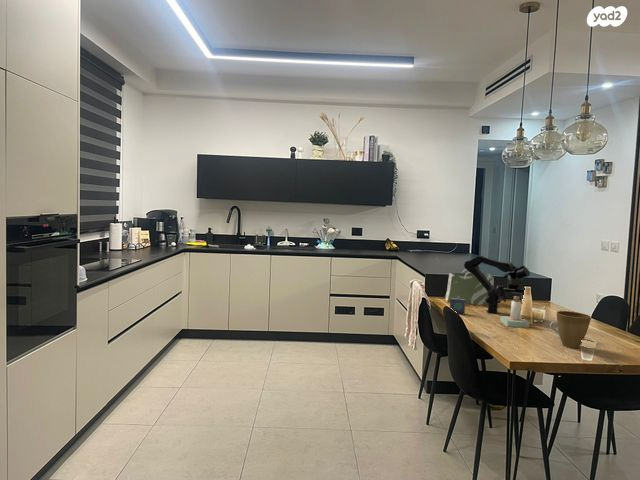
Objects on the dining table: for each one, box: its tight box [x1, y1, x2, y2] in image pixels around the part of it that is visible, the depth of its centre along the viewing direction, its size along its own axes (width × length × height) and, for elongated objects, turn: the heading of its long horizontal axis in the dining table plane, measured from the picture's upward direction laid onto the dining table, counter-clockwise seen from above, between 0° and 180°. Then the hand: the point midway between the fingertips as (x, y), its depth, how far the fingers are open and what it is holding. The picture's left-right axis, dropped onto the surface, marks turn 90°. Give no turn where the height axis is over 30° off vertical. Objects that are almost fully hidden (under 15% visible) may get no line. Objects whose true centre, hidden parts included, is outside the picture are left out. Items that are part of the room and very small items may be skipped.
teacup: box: [549, 321, 560, 337], centre depth 241 cm, size 14×11×8 cm
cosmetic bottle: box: [509, 295, 522, 320], centre depth 263 cm, size 5×5×13 cm
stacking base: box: [499, 315, 531, 329], centre depth 263 cm, size 12×12×3 cm
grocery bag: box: [444, 268, 495, 306], centre depth 318 cm, size 32×14×23 cm, turn 82°
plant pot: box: [556, 310, 592, 349], centre depth 225 cm, size 15×15×16 cm
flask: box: [449, 296, 466, 315], centre depth 283 cm, size 9×3×11 cm, turn 88°
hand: (513, 302), depth 269 cm, fingers open, 9 cm apart
